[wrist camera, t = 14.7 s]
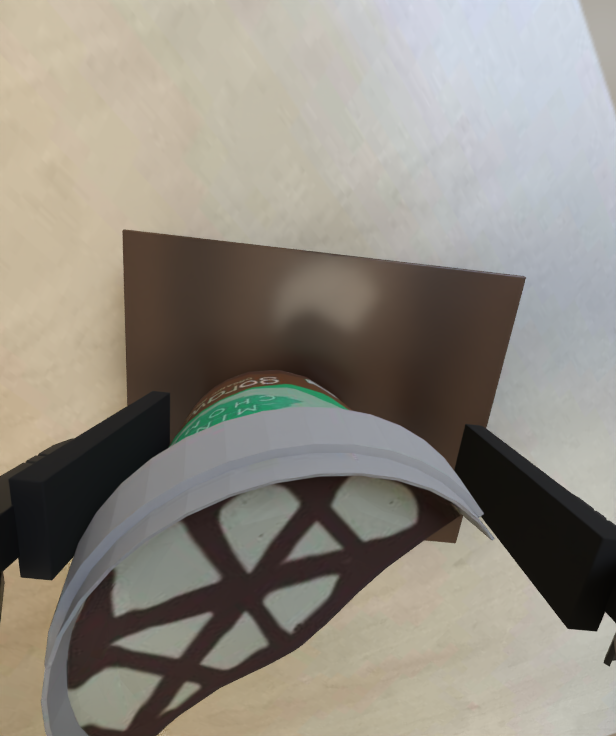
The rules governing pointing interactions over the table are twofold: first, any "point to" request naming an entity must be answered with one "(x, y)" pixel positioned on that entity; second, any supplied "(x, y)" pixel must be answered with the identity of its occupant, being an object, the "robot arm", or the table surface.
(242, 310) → the board
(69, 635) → the food container
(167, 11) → the table surface
